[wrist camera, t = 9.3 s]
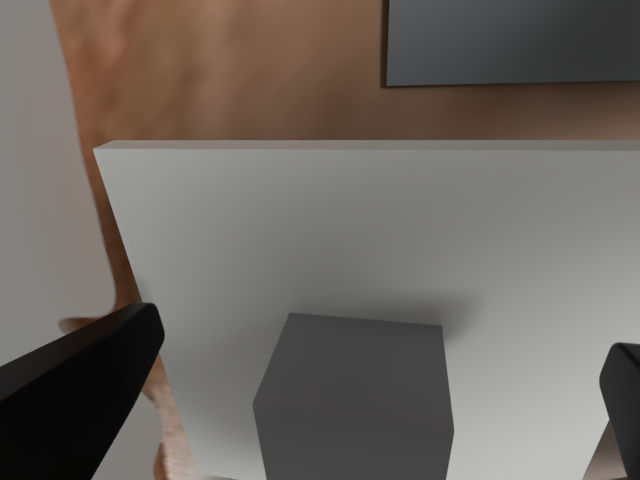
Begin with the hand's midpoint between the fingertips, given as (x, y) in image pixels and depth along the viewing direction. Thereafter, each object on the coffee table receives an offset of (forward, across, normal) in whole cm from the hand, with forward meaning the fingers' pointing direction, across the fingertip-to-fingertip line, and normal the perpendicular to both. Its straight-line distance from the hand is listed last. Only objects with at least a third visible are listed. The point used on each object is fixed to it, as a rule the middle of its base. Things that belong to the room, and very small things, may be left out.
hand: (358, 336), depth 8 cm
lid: (+3, 0, +3) cm, 4 cm away
